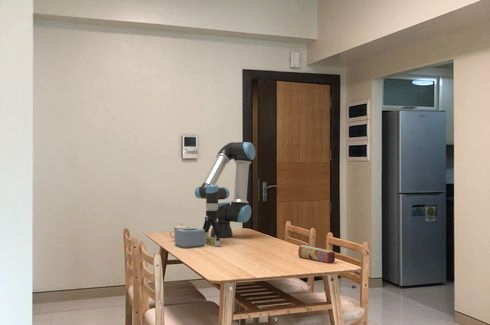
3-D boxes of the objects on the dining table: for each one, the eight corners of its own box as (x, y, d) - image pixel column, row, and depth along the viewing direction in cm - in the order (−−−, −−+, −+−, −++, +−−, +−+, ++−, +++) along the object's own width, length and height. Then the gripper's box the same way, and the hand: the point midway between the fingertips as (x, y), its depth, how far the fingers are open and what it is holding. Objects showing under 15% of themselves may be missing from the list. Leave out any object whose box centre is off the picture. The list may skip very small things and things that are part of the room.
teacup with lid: (187, 239, 334) (187, 222, 334) (189, 242, 325) (189, 223, 325) (168, 240, 331) (169, 222, 331) (170, 242, 322) (170, 224, 322)
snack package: (336, 262, 264) (336, 249, 264) (327, 264, 260) (327, 250, 260) (305, 256, 280) (305, 244, 280) (297, 257, 276) (297, 245, 276)
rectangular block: (214, 244, 319) (214, 236, 319) (217, 244, 316) (217, 237, 316) (206, 244, 316) (206, 237, 316) (208, 245, 313) (208, 238, 313)
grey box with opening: (195, 243, 319) (195, 227, 319) (204, 246, 309) (204, 229, 309) (175, 245, 312) (175, 229, 312) (183, 248, 302) (183, 231, 301)
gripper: (197, 208, 324) (197, 242, 324) (216, 212, 303) (216, 247, 303) (207, 208, 328) (207, 241, 328) (227, 211, 307) (227, 246, 307)
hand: (211, 244), depth 316 cm, fingers open, 13 cm apart
